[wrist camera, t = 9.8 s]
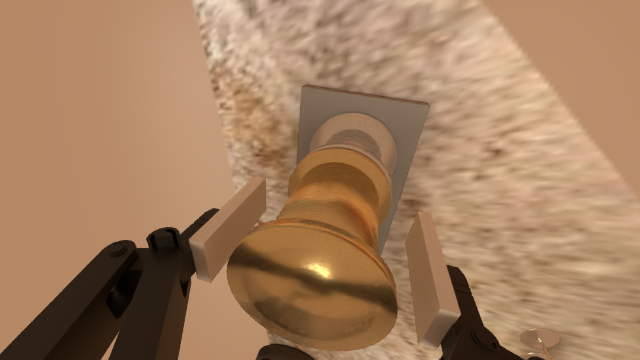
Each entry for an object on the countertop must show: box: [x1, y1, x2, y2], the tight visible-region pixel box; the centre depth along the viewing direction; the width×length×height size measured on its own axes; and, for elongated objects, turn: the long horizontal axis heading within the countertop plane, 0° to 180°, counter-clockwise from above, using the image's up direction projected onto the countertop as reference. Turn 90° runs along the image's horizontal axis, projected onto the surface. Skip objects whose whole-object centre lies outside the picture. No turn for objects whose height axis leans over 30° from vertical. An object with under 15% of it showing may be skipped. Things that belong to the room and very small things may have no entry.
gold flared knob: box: [227, 147, 397, 351], centre depth 14 cm, size 8×8×9 cm
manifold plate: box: [297, 85, 430, 256], centre depth 28 cm, size 24×12×2 cm, turn 174°
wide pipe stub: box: [307, 112, 397, 205], centre depth 21 cm, size 9×9×8 cm
